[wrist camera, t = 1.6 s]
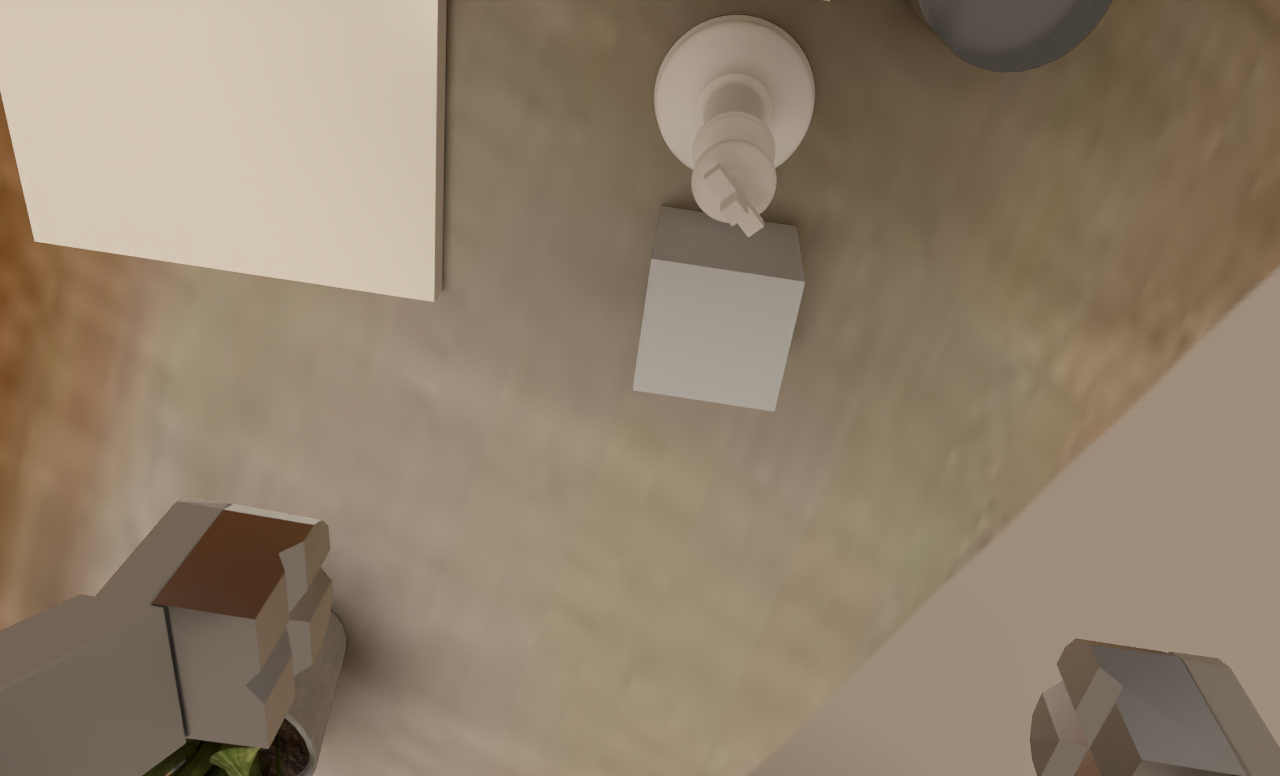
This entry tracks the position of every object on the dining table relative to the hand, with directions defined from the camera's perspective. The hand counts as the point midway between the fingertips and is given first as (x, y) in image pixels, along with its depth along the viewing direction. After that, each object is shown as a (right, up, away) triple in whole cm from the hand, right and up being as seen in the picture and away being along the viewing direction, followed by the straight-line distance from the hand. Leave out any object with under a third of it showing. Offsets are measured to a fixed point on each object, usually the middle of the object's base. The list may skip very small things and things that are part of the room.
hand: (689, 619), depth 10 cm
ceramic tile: (-14, +13, +19) cm, 27 cm away
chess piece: (+2, +12, +19) cm, 22 cm away
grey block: (+2, +6, +22) cm, 23 cm away
